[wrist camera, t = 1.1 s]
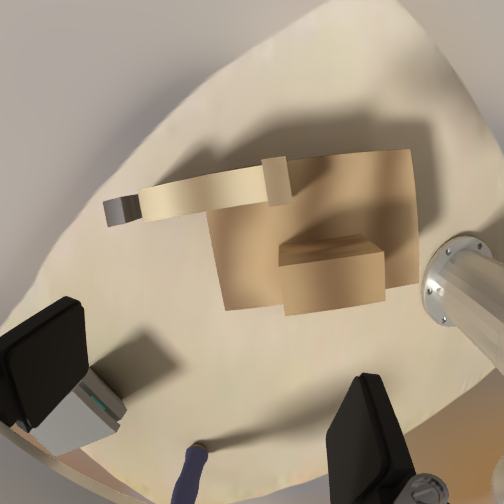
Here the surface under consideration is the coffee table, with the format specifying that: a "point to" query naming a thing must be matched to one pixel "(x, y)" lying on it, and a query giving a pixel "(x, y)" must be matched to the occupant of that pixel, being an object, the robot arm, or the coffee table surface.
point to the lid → (322, 236)
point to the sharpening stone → (81, 417)
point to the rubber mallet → (190, 475)
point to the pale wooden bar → (219, 191)
